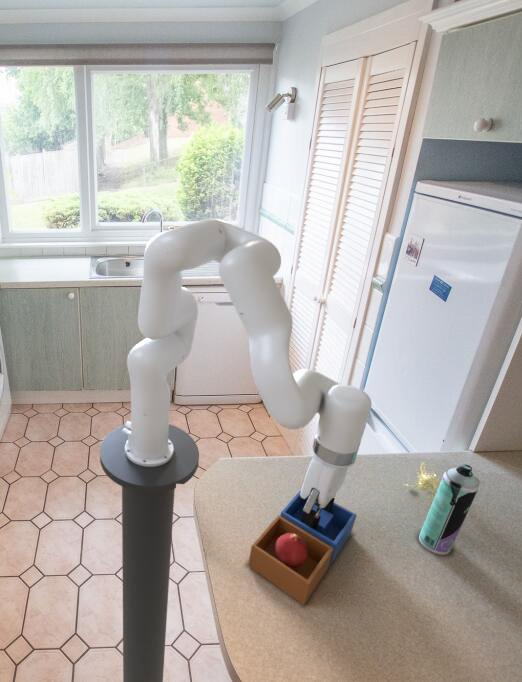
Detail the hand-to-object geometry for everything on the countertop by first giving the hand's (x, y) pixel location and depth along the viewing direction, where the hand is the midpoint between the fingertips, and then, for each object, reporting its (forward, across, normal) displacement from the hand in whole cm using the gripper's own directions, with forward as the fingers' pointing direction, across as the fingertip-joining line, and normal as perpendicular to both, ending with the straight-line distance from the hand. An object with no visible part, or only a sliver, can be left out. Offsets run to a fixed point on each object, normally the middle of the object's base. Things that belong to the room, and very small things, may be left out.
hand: (315, 517), depth 92 cm
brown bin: (+4, +11, 0) cm, 12 cm away
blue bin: (+4, 0, 0) cm, 4 cm away
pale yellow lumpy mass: (+4, -28, +15) cm, 32 cm away
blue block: (+4, 0, 0) cm, 4 cm away
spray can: (+4, -15, +19) cm, 24 cm away
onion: (+4, +11, 0) cm, 12 cm away
